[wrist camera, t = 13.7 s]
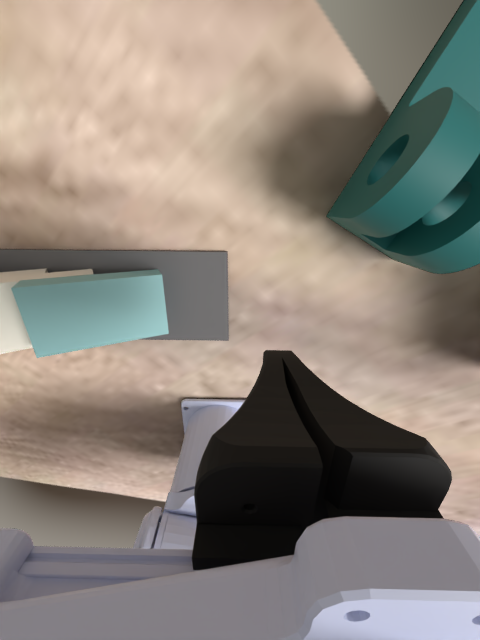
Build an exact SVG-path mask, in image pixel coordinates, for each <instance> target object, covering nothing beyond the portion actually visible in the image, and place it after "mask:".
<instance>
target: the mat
mask: <svg viewBox="0 0 480 640" xmlns="http://www.w3.org/2000/svg"><path fill="white" fill-rule="evenodd" d="M45 268H47V271H48V273H51V272H62V271H73V270H83V269H92V270H93V274H105V273H118V272H130V271H142V270H155V269H158V270H159V271H160V273H161V274H162V279H163V287H164V296H165V305H166V313H167V322H168V331H169V334H164V335H159V336H153V337H148V338H142V339H150V340H223V341H228V340H229V333H228V254H227V251H130V250H28V249H0V272H10V271H22V270H34V269H45Z"/></svg>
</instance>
